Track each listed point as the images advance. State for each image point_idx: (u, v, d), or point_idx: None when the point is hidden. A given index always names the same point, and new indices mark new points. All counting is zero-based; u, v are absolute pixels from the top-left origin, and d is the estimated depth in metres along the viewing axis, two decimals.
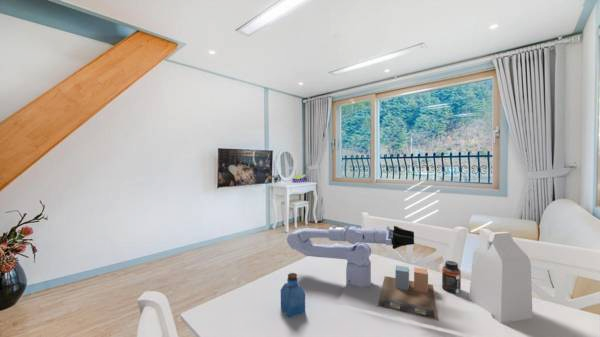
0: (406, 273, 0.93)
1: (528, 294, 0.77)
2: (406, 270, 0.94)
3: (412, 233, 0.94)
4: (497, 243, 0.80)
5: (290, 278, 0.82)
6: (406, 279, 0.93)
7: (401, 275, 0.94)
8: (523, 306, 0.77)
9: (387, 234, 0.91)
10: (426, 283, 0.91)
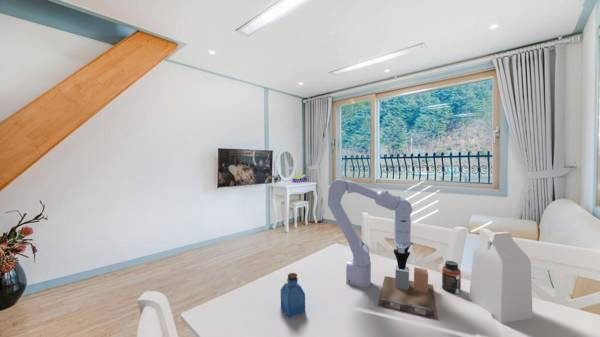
0: (406, 273, 0.93)
1: (528, 294, 0.77)
2: (406, 270, 0.94)
3: None
4: (497, 243, 0.80)
5: (290, 278, 0.82)
6: (406, 279, 0.93)
7: (401, 275, 0.94)
8: (523, 306, 0.77)
9: (407, 246, 0.91)
10: (426, 283, 0.91)
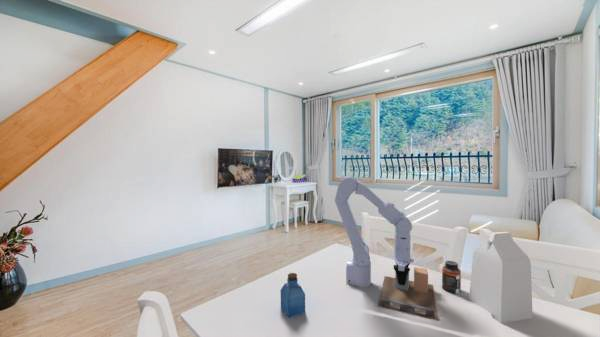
0: None
1: (528, 294, 0.77)
2: None
3: None
4: (497, 243, 0.80)
5: (290, 278, 0.82)
6: (406, 279, 0.93)
7: None
8: (523, 306, 0.77)
9: (407, 263, 0.91)
10: (426, 283, 0.91)
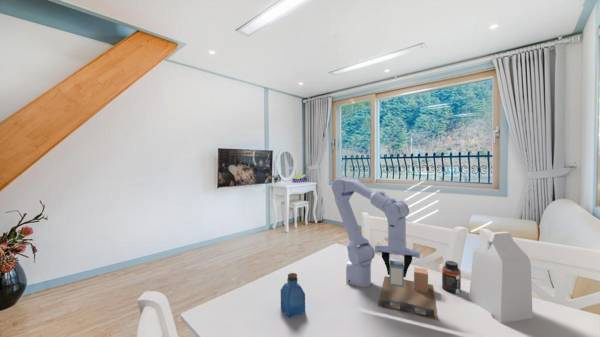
0: None
1: (528, 294, 0.77)
2: (393, 265, 0.85)
3: (404, 274, 0.85)
4: (497, 243, 0.80)
5: (290, 278, 0.82)
6: None
7: None
8: (523, 306, 0.77)
9: (385, 250, 0.86)
10: (426, 283, 0.91)
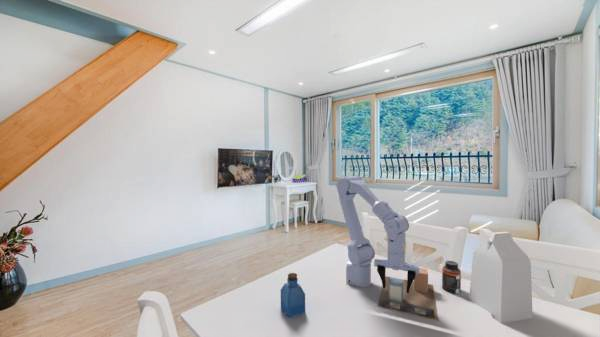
0: None
1: (528, 294, 0.77)
2: (392, 282, 0.85)
3: (407, 290, 0.84)
4: (497, 243, 0.80)
5: (290, 278, 0.82)
6: None
7: None
8: (523, 306, 0.77)
9: (384, 264, 0.86)
10: (426, 283, 0.91)
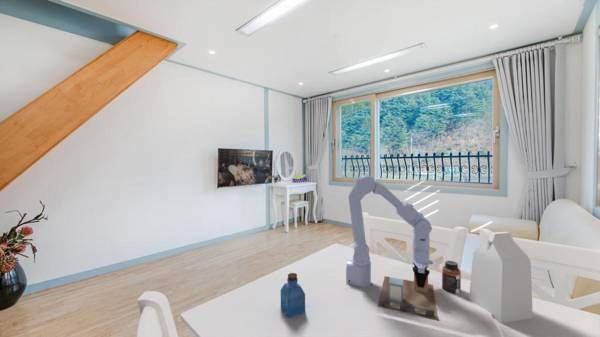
0: None
1: (528, 294, 0.77)
2: (392, 282, 0.85)
3: None
4: (497, 243, 0.80)
5: (290, 278, 0.82)
6: None
7: None
8: (523, 306, 0.77)
9: (426, 265, 0.89)
10: (426, 283, 0.91)
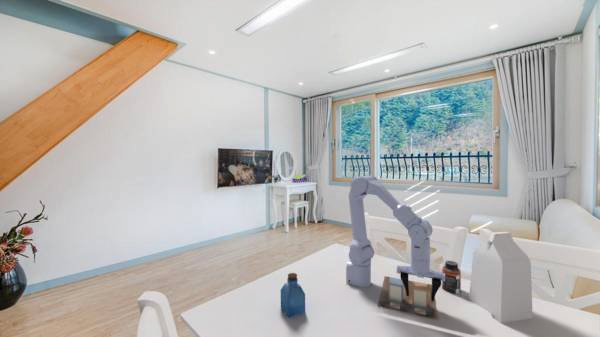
0: None
1: (528, 294, 0.77)
2: (392, 282, 0.85)
3: (432, 298, 0.81)
4: (497, 243, 0.80)
5: (290, 278, 0.82)
6: None
7: None
8: (523, 306, 0.77)
9: (407, 271, 0.83)
10: (412, 297, 0.82)
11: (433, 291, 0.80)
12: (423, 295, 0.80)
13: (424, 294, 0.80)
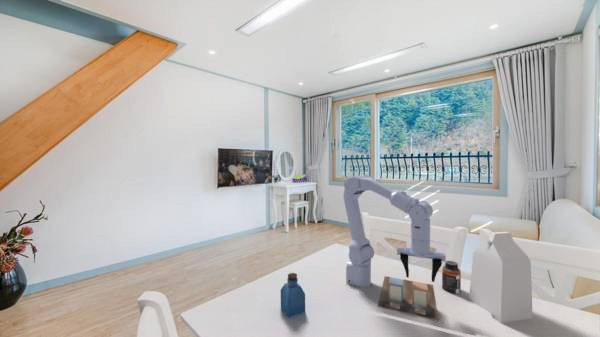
0: None
1: (528, 294, 0.77)
2: (392, 282, 0.85)
3: None
4: (497, 243, 0.80)
5: (290, 278, 0.82)
6: None
7: None
8: (523, 306, 0.77)
9: (407, 252, 0.82)
10: (412, 297, 0.82)
11: (433, 271, 0.79)
12: (423, 295, 0.80)
13: (424, 294, 0.80)
